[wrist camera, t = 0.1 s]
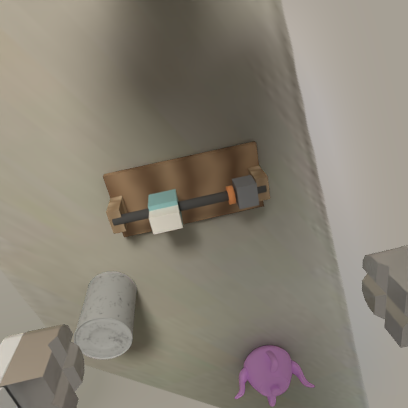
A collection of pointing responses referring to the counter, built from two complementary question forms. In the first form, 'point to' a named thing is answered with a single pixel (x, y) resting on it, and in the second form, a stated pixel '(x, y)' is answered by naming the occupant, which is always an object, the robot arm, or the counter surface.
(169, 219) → the sleeve
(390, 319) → the robot arm
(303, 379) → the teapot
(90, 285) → the grey upright cylinder
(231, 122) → the counter surface
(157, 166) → the rod slider board
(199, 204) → the rail
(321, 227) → the counter surface
